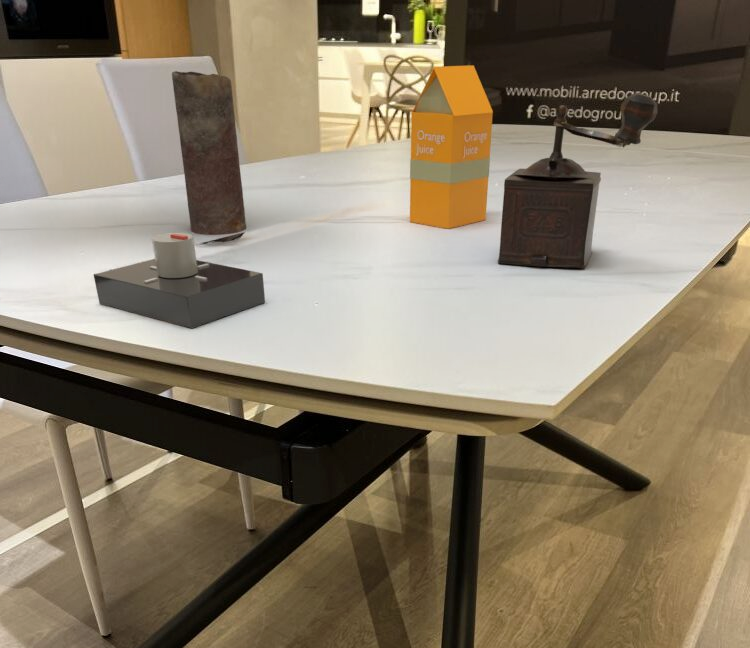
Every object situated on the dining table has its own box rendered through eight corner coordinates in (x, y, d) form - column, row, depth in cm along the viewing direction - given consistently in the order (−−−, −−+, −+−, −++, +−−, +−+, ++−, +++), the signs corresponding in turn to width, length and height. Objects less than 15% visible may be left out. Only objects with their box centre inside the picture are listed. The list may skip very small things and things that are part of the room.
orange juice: (408, 221, 110) (411, 66, 100) (447, 213, 116) (452, 65, 105) (449, 229, 106) (455, 67, 95) (487, 220, 111) (497, 65, 101)
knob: (149, 274, 74) (142, 235, 72) (179, 266, 77) (174, 228, 75) (175, 280, 72) (169, 240, 70) (206, 271, 75) (201, 232, 73)
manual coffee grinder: (493, 265, 88) (506, 92, 79) (510, 244, 97) (523, 87, 88) (629, 275, 84) (660, 94, 74) (633, 253, 93) (661, 88, 83)
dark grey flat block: (99, 303, 76) (92, 272, 75) (174, 281, 83) (169, 253, 82) (191, 328, 69) (187, 294, 68) (265, 302, 76) (262, 271, 74)
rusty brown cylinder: (212, 233, 105) (192, 70, 95) (258, 236, 103) (242, 69, 92) (181, 244, 99) (156, 72, 89) (229, 248, 97) (209, 71, 86)
